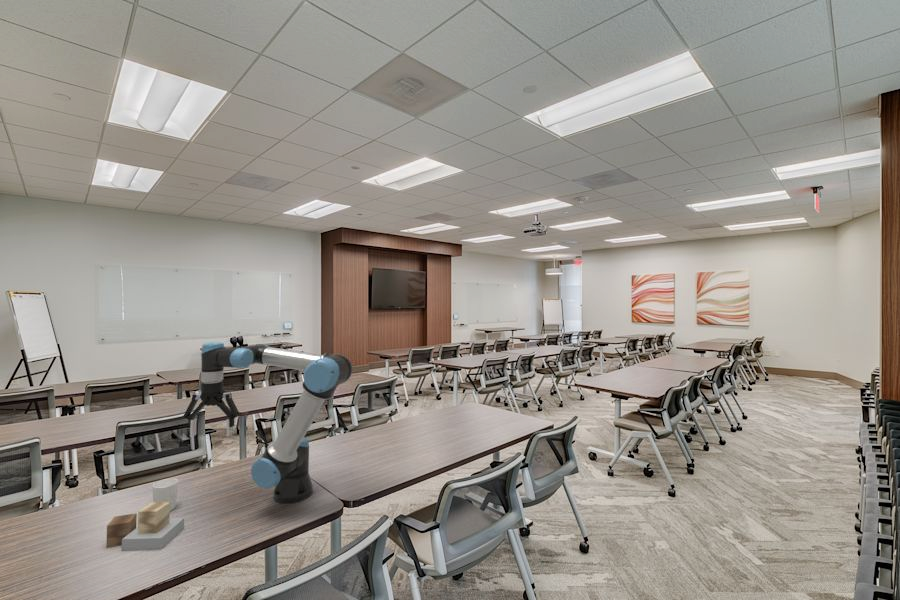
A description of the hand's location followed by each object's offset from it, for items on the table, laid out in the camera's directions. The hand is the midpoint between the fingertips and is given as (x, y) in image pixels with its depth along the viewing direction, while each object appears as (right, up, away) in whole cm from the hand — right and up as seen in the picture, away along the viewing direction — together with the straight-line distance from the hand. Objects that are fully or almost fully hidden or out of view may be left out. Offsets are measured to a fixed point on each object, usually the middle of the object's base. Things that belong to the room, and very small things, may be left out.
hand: (211, 435), depth 154 cm
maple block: (-5, -23, -24) cm, 33 cm away
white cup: (-15, -27, -5) cm, 31 cm away
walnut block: (-15, -26, -25) cm, 39 cm away
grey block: (-5, -27, -24) cm, 36 cm away
